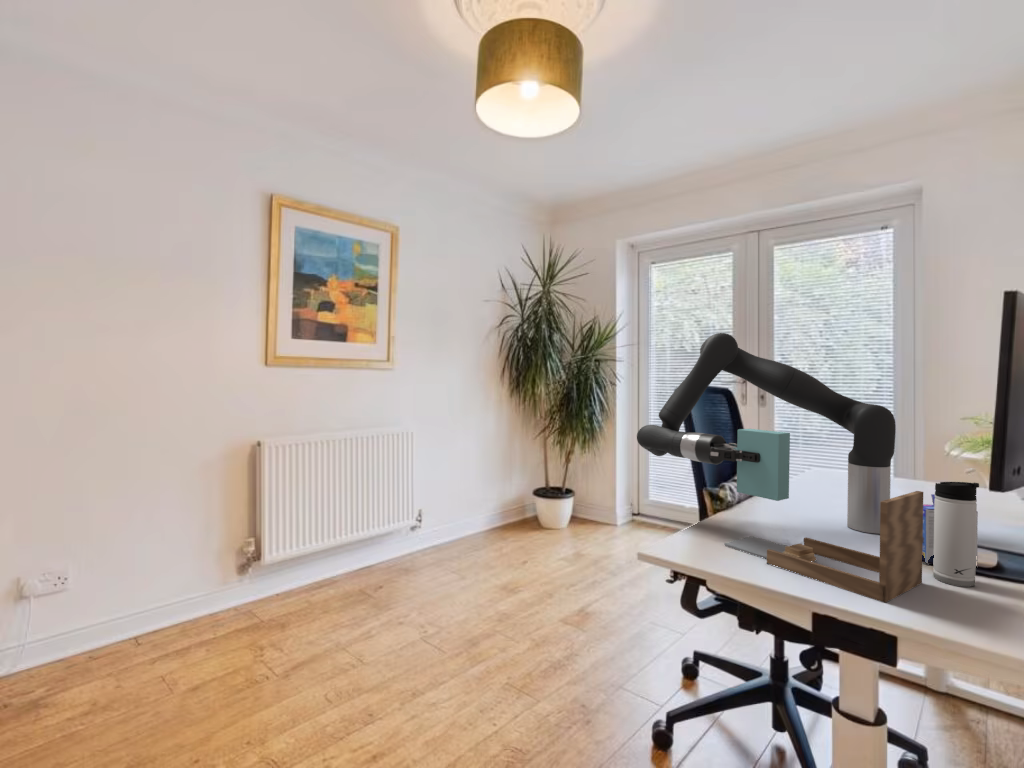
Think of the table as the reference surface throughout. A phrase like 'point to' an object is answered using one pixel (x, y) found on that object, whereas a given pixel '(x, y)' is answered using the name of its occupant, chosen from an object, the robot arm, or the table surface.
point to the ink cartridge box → (932, 530)
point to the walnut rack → (893, 565)
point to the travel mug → (955, 533)
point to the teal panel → (764, 464)
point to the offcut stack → (800, 552)
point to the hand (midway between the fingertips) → (765, 457)
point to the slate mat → (755, 546)
